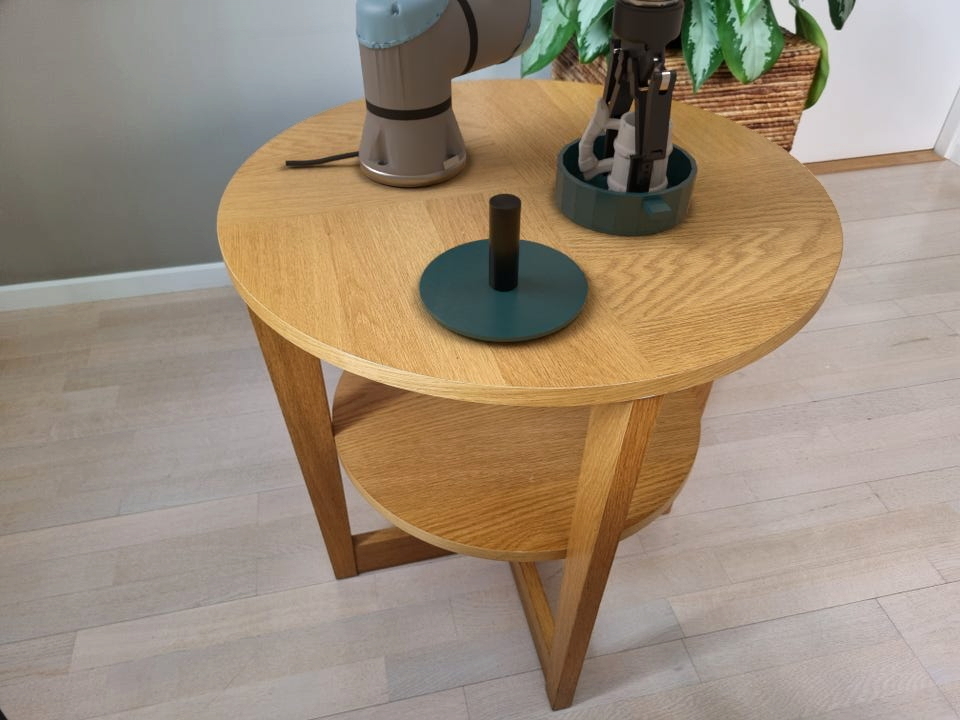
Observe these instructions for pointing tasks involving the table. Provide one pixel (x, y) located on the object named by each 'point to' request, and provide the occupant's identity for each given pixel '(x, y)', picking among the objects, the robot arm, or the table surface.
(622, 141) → the mug
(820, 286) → the table surface
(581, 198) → the shallow round tub
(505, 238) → the lid
